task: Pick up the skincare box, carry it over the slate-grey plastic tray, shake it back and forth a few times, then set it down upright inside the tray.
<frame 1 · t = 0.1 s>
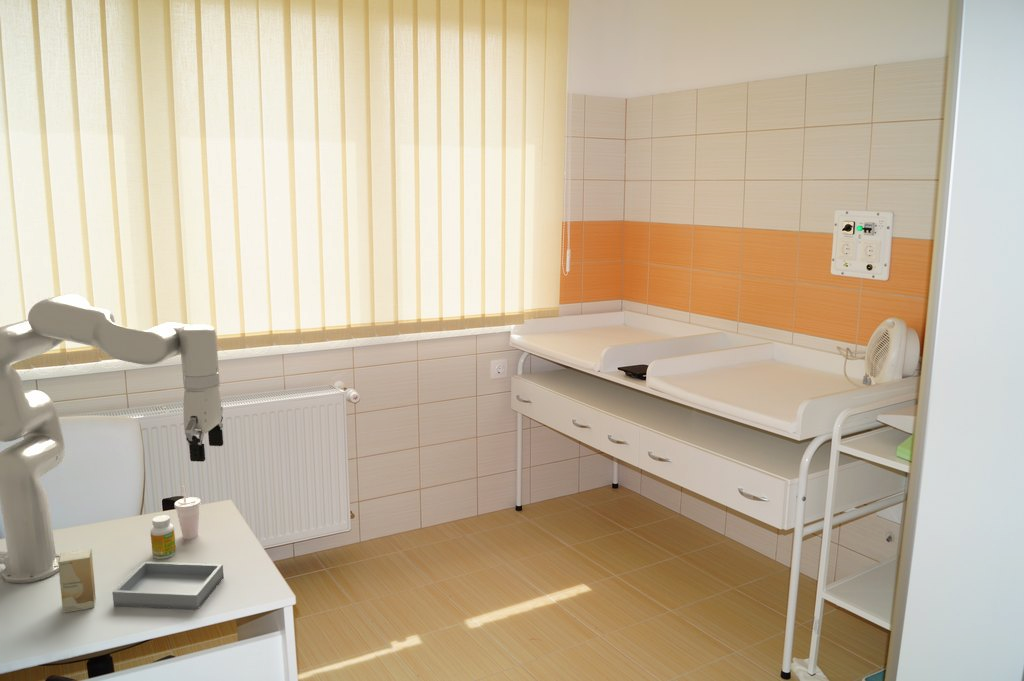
hand: (207, 453, 178), 31 cm above the table, tool pointing down, fingers open, 9 cm apart
skincare box: (80, 606, 173), on the table
tray: (170, 591, 179), on the table
smoothie: (190, 536, 205), on the table
supplement bottle: (164, 555, 196), on the table
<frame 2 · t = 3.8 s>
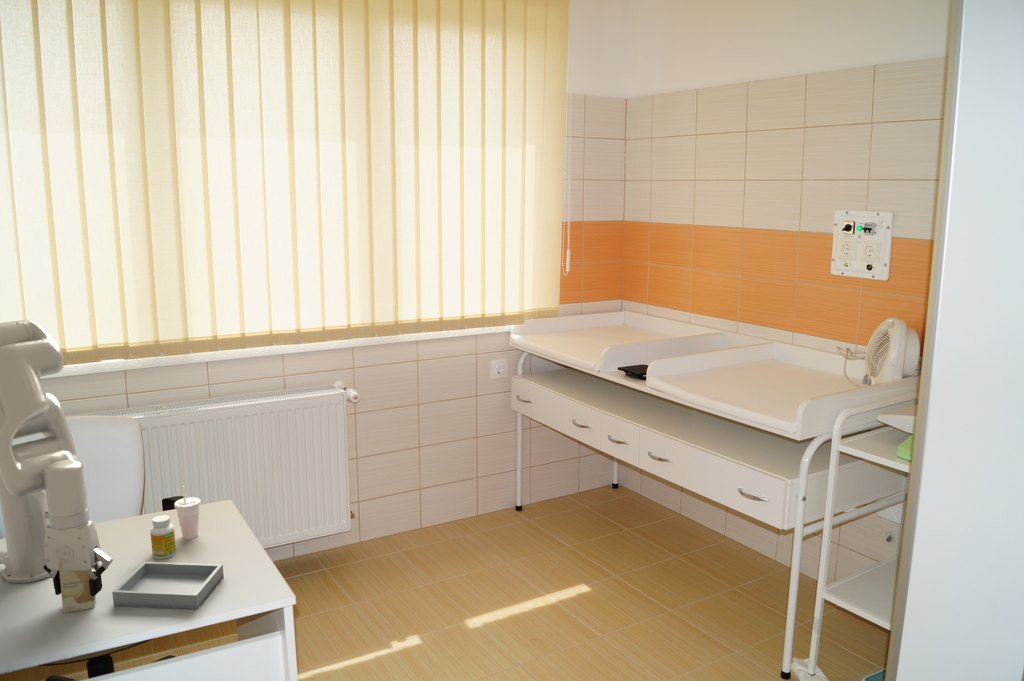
hand: (78, 591, 172), 3 cm above the table, tool pointing down, fingers closed on skincare box, 7 cm apart
skincare box: (80, 606, 173), on the table, touching gripper
everything else where it was.
when the fingers open (6 cm above the table, at t = 13.2 s): skincare box drops 1 cm, resting on tray.
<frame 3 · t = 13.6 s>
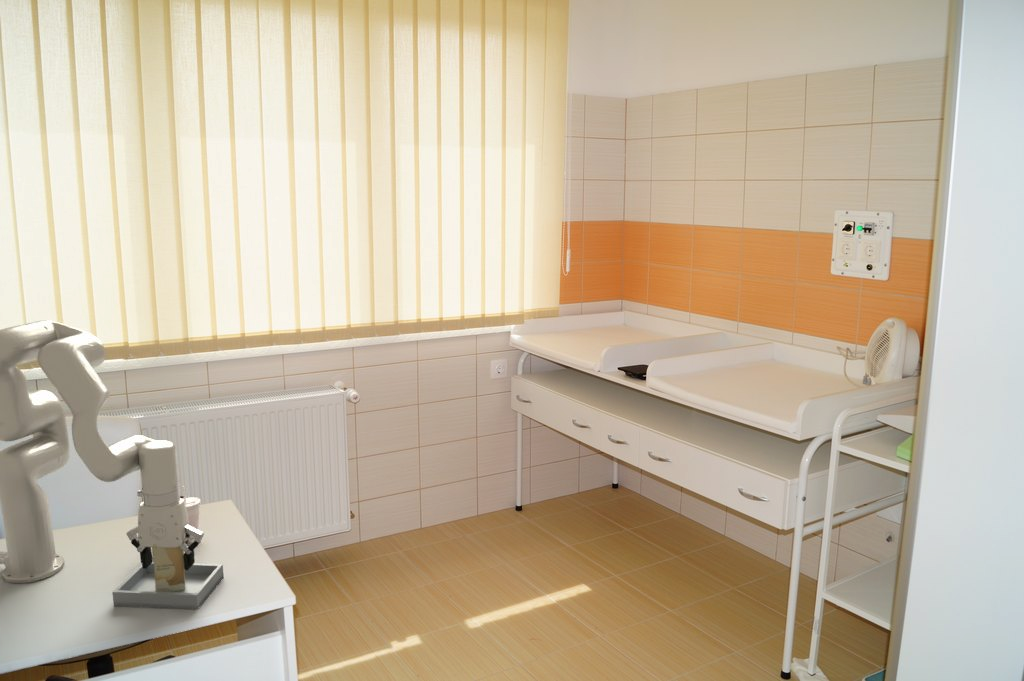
hand: (168, 566, 177), 6 cm above the table, tool pointing down, fingers open, 9 cm apart
skincare box: (171, 588, 178), point 1 cm above the table, touching tray
everything else where it was.
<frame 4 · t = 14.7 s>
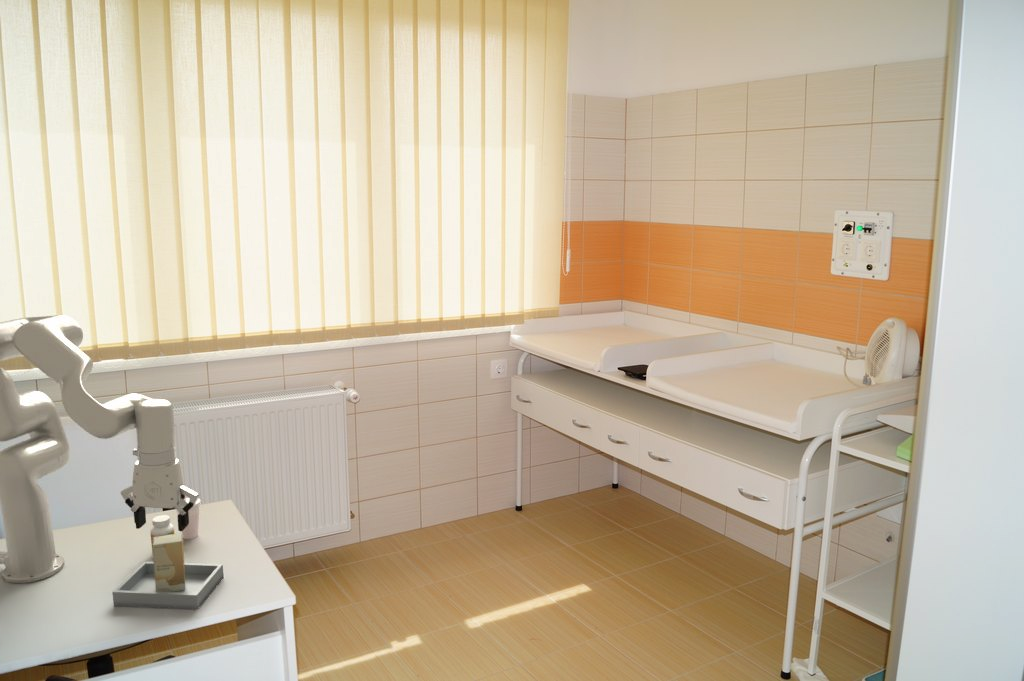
hand: (162, 527, 175), 16 cm above the table, tool pointing down, fingers open, 9 cm apart
nothing on the table moved.
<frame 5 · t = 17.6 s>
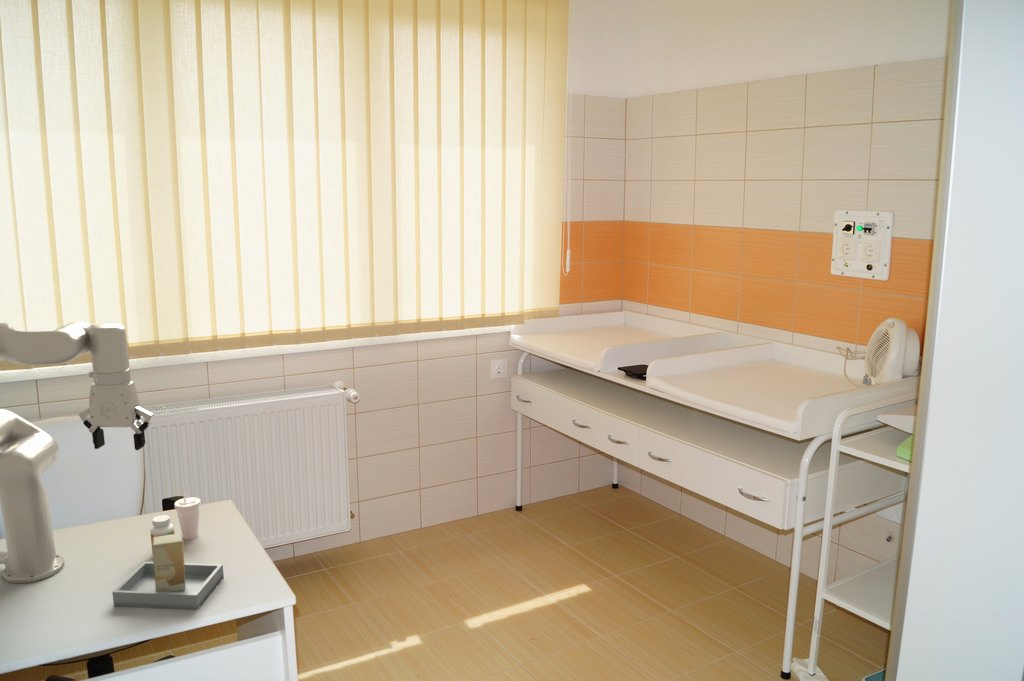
hand: (119, 447, 183), 30 cm above the table, tool pointing down, fingers open, 9 cm apart
nothing on the table moved.
at the end: skincare box inside the target area on the tray (0.3 cm from its centre), point 0.8 cm above the tray's base; skincare box tilted 0°; the gripper is holding nothing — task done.
